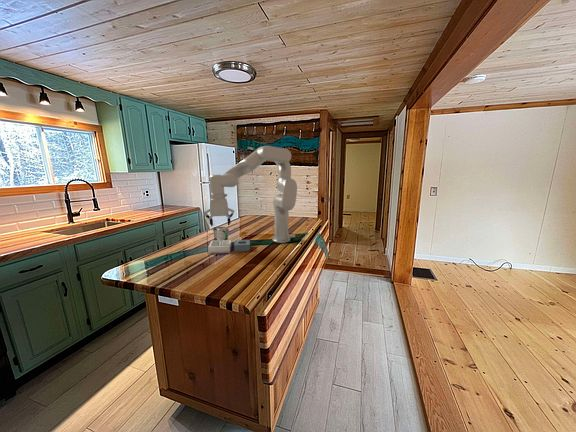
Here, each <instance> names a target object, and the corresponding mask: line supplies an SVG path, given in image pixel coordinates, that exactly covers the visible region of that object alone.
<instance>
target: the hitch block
mask: <svg viewBox="0 0 576 432" xmlns="http://www.w3.org/2000/svg"><path fill="white" fill-rule="evenodd" d="M250 241H251V240H250V239H240V240H239V239H237V240H234V244H233V246H234V252H236V253H237V252H249V251H251V242H250Z"/></svg>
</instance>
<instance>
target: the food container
mask: <svg viewBox="0 0 576 432" xmlns="http://www.w3.org/2000/svg"><path fill="white" fill-rule="evenodd" d="M218 228H222V231H223V240H229V238H228V237H229V232H230V229H229V228H228V227H226V226H216V227H215V226H214V227H212V232H213V237H214V241H217V229H218Z"/></svg>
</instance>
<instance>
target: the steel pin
mask: <svg viewBox="0 0 576 432" xmlns="http://www.w3.org/2000/svg"><path fill="white" fill-rule="evenodd" d="M217 242H218V246H223V231H222V228H218V229H217Z"/></svg>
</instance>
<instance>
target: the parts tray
mask: <svg viewBox="0 0 576 432" xmlns="http://www.w3.org/2000/svg"><path fill="white" fill-rule="evenodd" d="M231 250H232V240H231V239H228V240H223V246H218V242H217V241H215V240H211V241H210V243H209V245H208V247H207V251H208V253H207V254H209V255H211V254H230V253H231Z"/></svg>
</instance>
